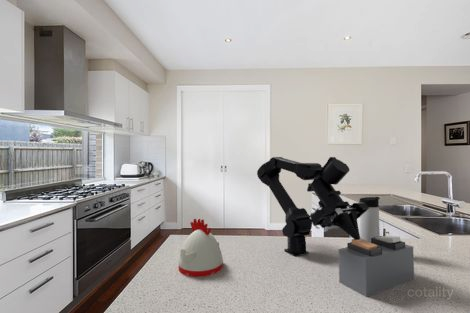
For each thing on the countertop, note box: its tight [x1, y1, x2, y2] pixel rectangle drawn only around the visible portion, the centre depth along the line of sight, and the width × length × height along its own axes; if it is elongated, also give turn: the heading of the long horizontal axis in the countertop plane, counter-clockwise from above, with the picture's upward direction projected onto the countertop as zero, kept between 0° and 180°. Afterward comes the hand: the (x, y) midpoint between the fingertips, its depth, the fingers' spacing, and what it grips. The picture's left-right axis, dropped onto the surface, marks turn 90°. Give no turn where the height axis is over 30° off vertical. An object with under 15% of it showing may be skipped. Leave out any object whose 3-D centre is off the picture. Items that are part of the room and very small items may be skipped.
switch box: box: [338, 235, 415, 297], centre depth 68 cm, size 8×20×10 cm, turn 116°
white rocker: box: [375, 235, 401, 243], centre depth 70 cm, size 5×3×1 cm, turn 26°
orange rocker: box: [351, 238, 377, 250], centre depth 66 cm, size 5×3×1 cm, turn 26°
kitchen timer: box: [178, 218, 224, 278], centre depth 78 cm, size 14×14×15 cm
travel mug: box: [358, 196, 381, 242], centre depth 89 cm, size 6×7×20 cm
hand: (358, 239), depth 67 cm, fingers closed, pressing on orange rocker
